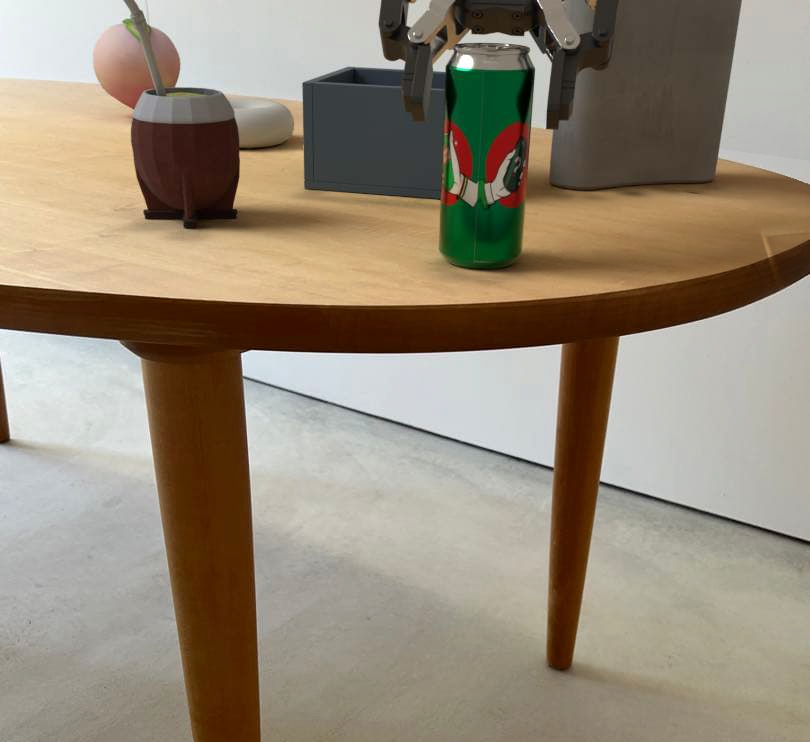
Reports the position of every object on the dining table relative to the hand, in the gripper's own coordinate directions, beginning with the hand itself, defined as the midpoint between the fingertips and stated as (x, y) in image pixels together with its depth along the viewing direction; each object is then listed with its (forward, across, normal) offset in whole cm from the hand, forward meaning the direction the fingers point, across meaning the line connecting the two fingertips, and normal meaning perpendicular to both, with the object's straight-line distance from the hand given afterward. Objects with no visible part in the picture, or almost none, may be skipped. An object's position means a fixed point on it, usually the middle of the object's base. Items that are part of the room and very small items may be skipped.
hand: (485, 116), depth 62 cm
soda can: (+5, 0, +7) cm, 9 cm away
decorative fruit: (-29, -40, +41) cm, 64 cm away
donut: (-21, -26, +33) cm, 47 cm away
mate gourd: (+1, -21, +11) cm, 24 cm away
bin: (-11, -9, +23) cm, 27 cm away
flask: (-15, +10, +27) cm, 32 cm away
